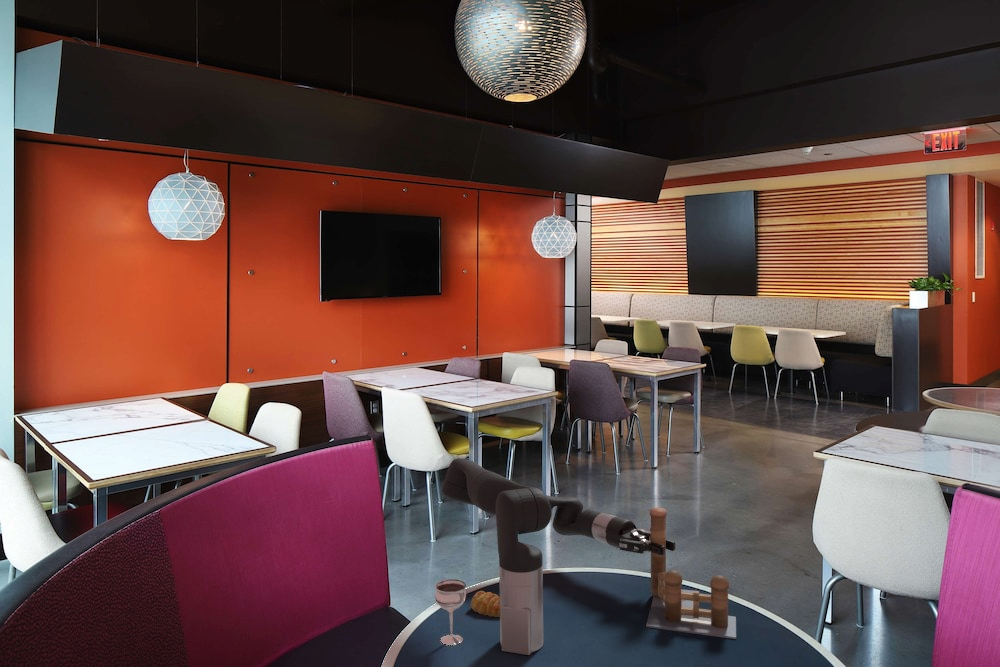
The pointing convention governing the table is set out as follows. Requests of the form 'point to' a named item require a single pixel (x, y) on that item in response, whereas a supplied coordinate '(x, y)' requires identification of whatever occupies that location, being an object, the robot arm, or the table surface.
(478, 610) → the pastry
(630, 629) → the table surface
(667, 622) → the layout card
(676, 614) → the fixed fence
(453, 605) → the wineglass
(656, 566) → the wooden fence section
